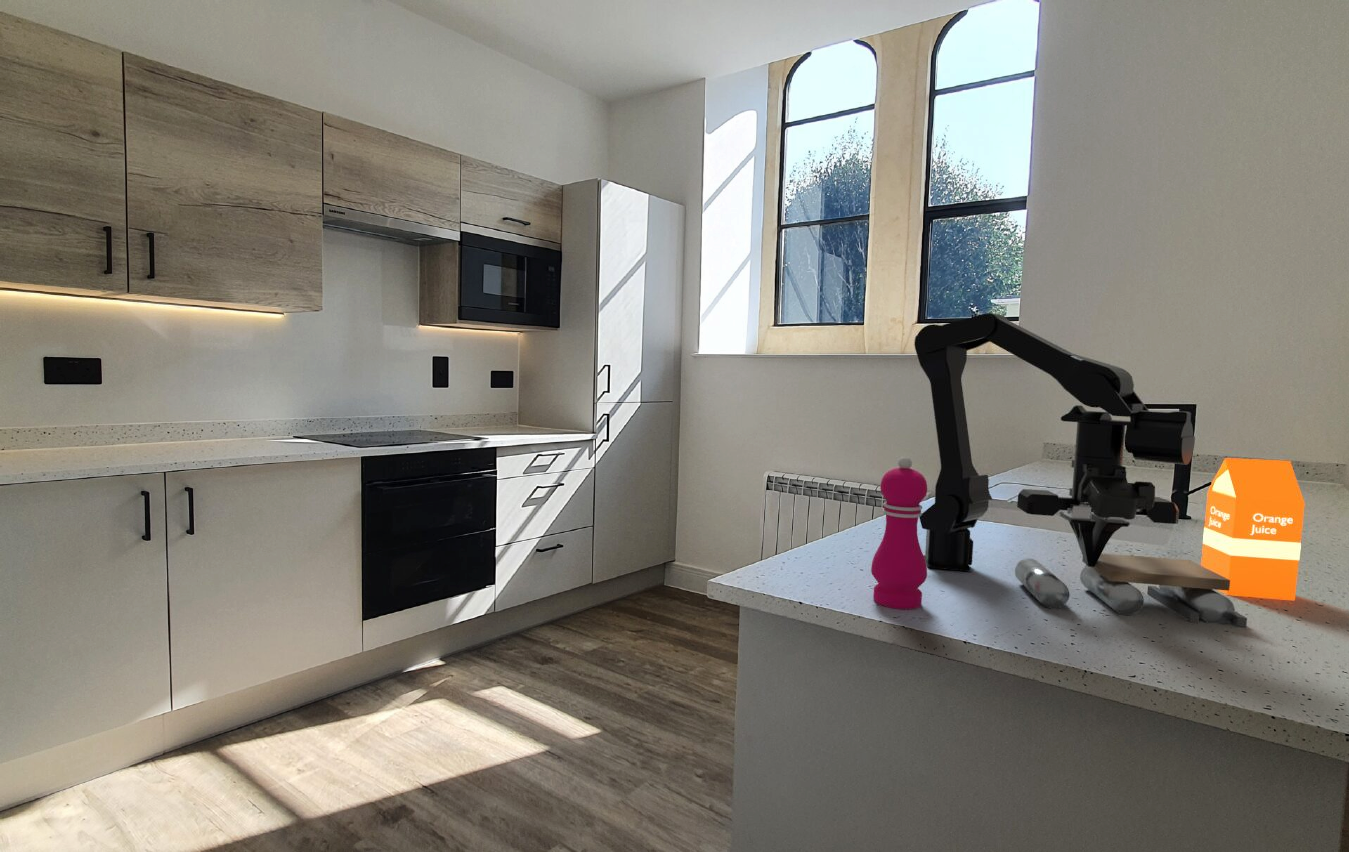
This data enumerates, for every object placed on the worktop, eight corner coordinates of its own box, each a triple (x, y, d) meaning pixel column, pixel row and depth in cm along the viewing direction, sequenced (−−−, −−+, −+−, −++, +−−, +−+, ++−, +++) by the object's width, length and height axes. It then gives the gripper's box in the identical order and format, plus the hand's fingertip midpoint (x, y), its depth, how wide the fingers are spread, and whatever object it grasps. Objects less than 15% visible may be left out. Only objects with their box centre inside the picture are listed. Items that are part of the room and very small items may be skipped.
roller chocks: (1189, 621, 90) (1190, 612, 90) (1147, 593, 102) (1147, 585, 102) (1246, 627, 89) (1247, 617, 89) (1196, 597, 101) (1197, 589, 100)
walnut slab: (1109, 580, 93) (1110, 570, 93) (1082, 561, 102) (1083, 552, 102) (1229, 590, 90) (1230, 580, 90) (1189, 569, 100) (1190, 560, 100)
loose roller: (1157, 596, 101) (1161, 569, 101) (1187, 600, 100) (1192, 573, 100) (1197, 622, 90) (1202, 592, 90) (1231, 627, 90) (1237, 597, 89)
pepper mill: (882, 590, 100) (889, 452, 98) (932, 601, 95) (941, 457, 94) (860, 601, 94) (868, 455, 93) (913, 615, 90) (922, 461, 88)
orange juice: (1295, 600, 101) (1309, 464, 99) (1226, 595, 102) (1239, 460, 101) (1262, 585, 108) (1274, 458, 107) (1198, 579, 110) (1209, 454, 109)
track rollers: (1036, 606, 94) (1038, 578, 94) (1014, 583, 105) (1015, 557, 105) (1142, 616, 92) (1145, 586, 91) (1108, 591, 102) (1110, 564, 102)
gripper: (1043, 459, 90) (1035, 576, 92) (1205, 467, 87) (1195, 589, 88) (1019, 450, 101) (1012, 555, 103) (1163, 457, 98) (1153, 566, 99)
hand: (1090, 566), depth 98 cm, fingers closed
